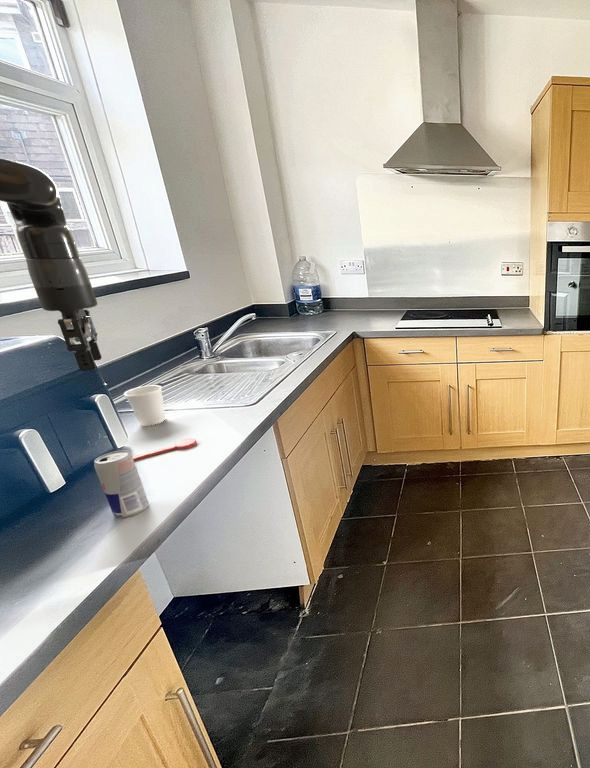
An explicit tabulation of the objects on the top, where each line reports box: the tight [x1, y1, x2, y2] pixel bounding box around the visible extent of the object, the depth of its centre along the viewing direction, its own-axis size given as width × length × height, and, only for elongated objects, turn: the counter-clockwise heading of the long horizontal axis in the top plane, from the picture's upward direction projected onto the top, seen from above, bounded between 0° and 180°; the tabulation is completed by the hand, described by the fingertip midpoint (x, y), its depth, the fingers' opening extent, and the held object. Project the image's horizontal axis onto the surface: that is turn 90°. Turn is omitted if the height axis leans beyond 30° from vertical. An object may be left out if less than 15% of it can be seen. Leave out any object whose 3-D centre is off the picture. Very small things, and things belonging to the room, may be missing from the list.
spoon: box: [132, 438, 198, 462], centre depth 103 cm, size 16×4×1 cm, turn 136°
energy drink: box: [93, 449, 150, 519], centre depth 80 cm, size 5×5×12 cm
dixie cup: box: [123, 384, 166, 427], centre depth 119 cm, size 8×8×10 cm
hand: (92, 365), depth 84 cm, fingers open, 8 cm apart
